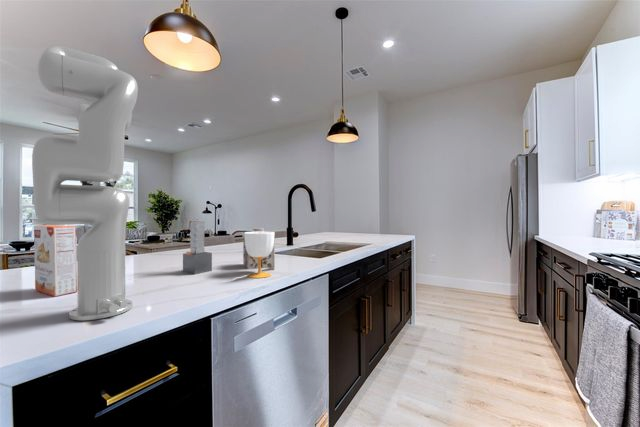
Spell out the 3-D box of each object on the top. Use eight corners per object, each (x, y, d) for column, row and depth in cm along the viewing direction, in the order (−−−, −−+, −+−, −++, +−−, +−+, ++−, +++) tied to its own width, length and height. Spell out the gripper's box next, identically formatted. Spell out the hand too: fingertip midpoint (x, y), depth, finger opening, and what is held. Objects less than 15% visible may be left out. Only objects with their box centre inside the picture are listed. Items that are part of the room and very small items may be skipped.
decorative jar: (243, 267, 126) (243, 227, 126) (268, 265, 131) (268, 227, 131) (247, 272, 116) (247, 229, 115) (275, 269, 120) (275, 228, 120)
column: (204, 271, 111) (204, 221, 111) (194, 273, 108) (194, 221, 108) (198, 270, 113) (198, 221, 113) (189, 272, 110) (188, 221, 109)
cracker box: (33, 291, 88) (32, 225, 88) (58, 286, 93) (57, 224, 93) (52, 297, 81) (52, 226, 81) (78, 292, 87) (77, 225, 86)
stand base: (220, 273, 113) (219, 250, 113) (193, 279, 103) (193, 253, 103) (201, 270, 119) (201, 248, 119) (174, 275, 109) (174, 251, 109)
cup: (277, 272, 115) (277, 231, 115) (269, 279, 103) (269, 233, 103) (250, 272, 116) (250, 231, 116) (239, 278, 104) (239, 233, 104)
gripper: (89, 142, 90) (89, 194, 90) (126, 153, 107) (126, 197, 107) (66, 142, 90) (66, 194, 90) (106, 153, 107) (106, 197, 107)
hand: (98, 196), depth 99 cm, fingers open, 9 cm apart
